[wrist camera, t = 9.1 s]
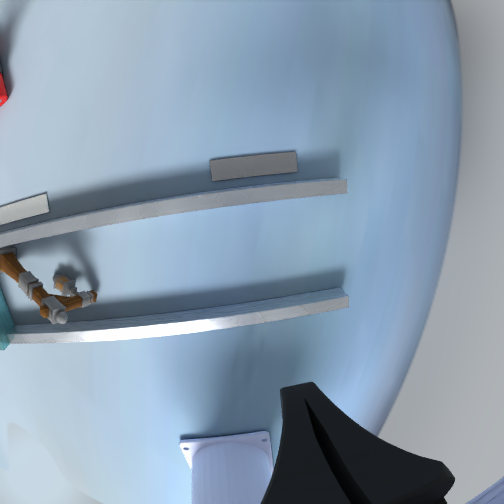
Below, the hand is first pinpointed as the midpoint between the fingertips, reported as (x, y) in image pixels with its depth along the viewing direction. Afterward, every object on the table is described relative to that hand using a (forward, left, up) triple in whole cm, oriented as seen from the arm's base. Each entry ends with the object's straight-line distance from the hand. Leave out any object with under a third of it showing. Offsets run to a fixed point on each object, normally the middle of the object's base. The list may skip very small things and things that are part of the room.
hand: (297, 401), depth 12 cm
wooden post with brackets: (+5, +14, -9) cm, 18 cm away
